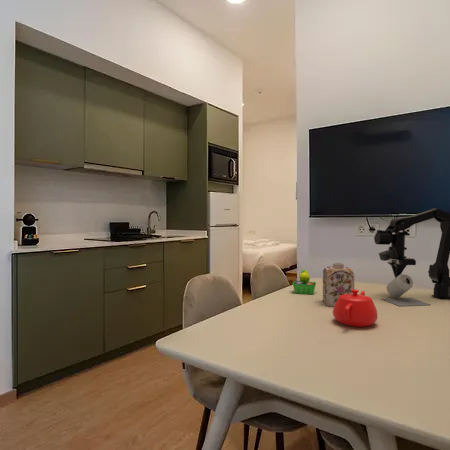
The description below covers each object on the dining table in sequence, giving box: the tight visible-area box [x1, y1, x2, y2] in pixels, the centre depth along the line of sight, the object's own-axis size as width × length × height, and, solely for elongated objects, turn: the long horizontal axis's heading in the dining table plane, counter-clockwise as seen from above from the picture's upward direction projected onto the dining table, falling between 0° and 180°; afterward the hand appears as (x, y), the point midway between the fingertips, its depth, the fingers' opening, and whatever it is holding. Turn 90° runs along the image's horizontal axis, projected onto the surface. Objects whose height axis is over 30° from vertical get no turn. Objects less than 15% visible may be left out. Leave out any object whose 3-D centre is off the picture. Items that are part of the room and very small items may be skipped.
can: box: [386, 273, 414, 298], centre depth 165 cm, size 8×8×12 cm
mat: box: [381, 297, 432, 307], centre depth 160 cm, size 15×13×1 cm
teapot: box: [332, 288, 378, 328], centre depth 131 cm, size 25×16×12 cm, turn 145°
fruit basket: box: [292, 269, 317, 295], centre depth 180 cm, size 11×9×11 cm
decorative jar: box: [322, 262, 355, 307], centre depth 158 cm, size 12×12×18 cm
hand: (396, 277), depth 167 cm, fingers closed
